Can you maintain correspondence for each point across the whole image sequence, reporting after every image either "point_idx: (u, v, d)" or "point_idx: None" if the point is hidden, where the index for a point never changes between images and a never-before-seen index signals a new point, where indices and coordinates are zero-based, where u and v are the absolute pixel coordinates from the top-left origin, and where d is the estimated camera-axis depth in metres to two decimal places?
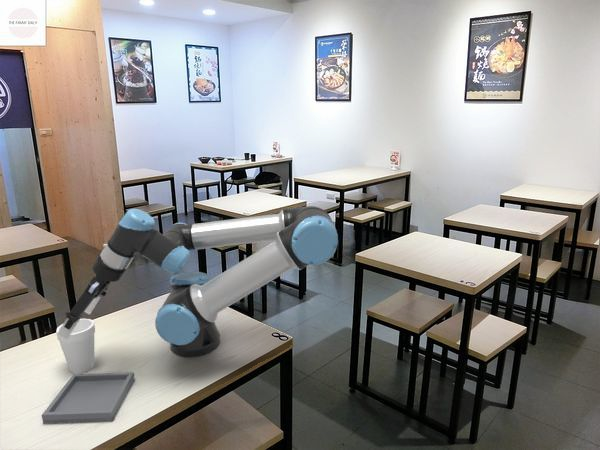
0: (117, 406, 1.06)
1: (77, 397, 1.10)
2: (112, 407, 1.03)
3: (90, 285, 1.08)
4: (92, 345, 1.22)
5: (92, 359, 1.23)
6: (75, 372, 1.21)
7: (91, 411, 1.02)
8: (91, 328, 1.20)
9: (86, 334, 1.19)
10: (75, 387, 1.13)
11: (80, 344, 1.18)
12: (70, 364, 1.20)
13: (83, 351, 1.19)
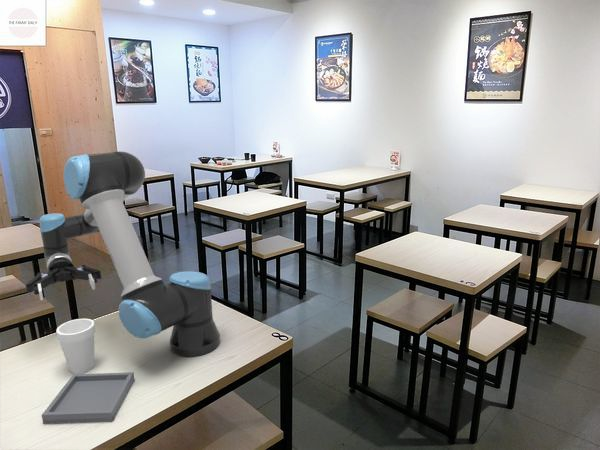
0: (117, 406, 1.06)
1: (77, 397, 1.10)
2: (112, 407, 1.03)
3: None
4: (92, 345, 1.22)
5: (92, 359, 1.23)
6: (75, 372, 1.21)
7: (91, 411, 1.02)
8: (91, 328, 1.20)
9: (86, 334, 1.19)
10: (75, 387, 1.13)
11: (80, 344, 1.18)
12: (70, 364, 1.20)
13: (83, 351, 1.19)
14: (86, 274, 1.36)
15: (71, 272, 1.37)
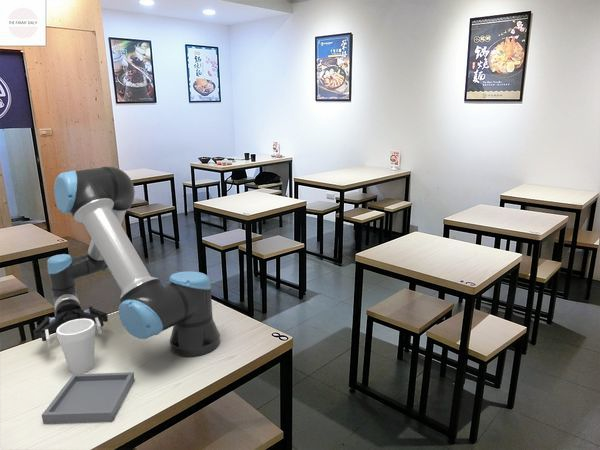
0: (117, 406, 1.06)
1: (77, 397, 1.10)
2: (112, 407, 1.03)
3: None
4: (92, 345, 1.22)
5: (92, 359, 1.23)
6: (75, 372, 1.21)
7: (91, 411, 1.02)
8: (91, 328, 1.20)
9: (86, 334, 1.19)
10: (75, 387, 1.13)
11: (80, 344, 1.18)
12: (70, 364, 1.20)
13: (83, 351, 1.19)
14: (93, 317, 1.37)
15: (78, 315, 1.39)
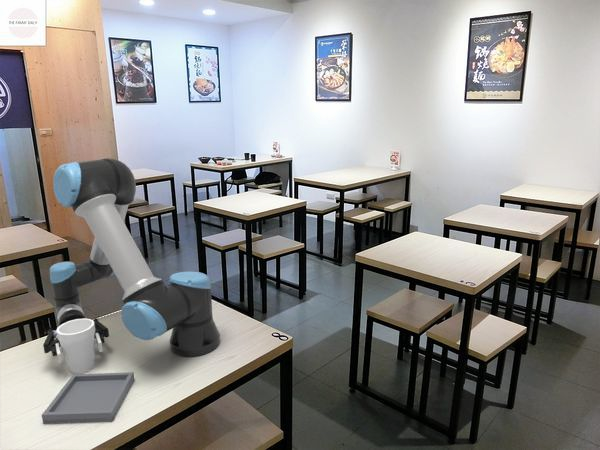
0: (117, 406, 1.06)
1: (77, 397, 1.10)
2: (112, 407, 1.03)
3: None
4: (92, 345, 1.22)
5: (92, 359, 1.23)
6: (75, 372, 1.21)
7: (91, 411, 1.02)
8: (91, 328, 1.20)
9: (86, 334, 1.19)
10: (75, 387, 1.13)
11: (80, 344, 1.18)
12: (70, 364, 1.20)
13: (83, 351, 1.19)
14: None
15: None
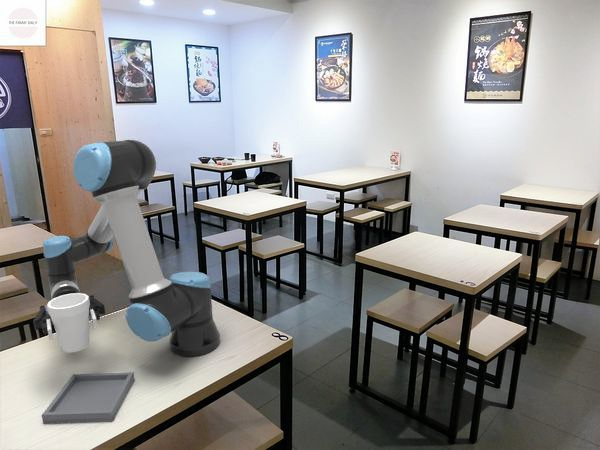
0: (117, 406, 1.06)
1: (77, 397, 1.10)
2: (112, 407, 1.03)
3: None
4: (86, 321, 1.12)
5: (86, 337, 1.13)
6: (68, 350, 1.11)
7: (91, 411, 1.02)
8: (85, 302, 1.11)
9: (79, 308, 1.09)
10: (75, 387, 1.13)
11: (73, 319, 1.09)
12: (62, 341, 1.10)
13: (76, 327, 1.10)
14: None
15: None
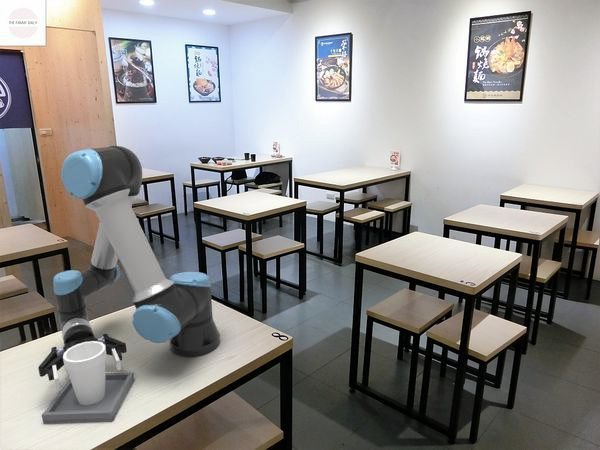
0: (117, 406, 1.06)
1: None
2: (112, 407, 1.03)
3: None
4: (103, 372, 1.08)
5: (103, 388, 1.09)
6: (84, 403, 1.07)
7: (91, 411, 1.02)
8: (102, 353, 1.06)
9: (97, 360, 1.04)
10: None
11: (90, 372, 1.04)
12: (78, 394, 1.06)
13: (93, 379, 1.05)
14: (109, 348, 1.14)
15: None
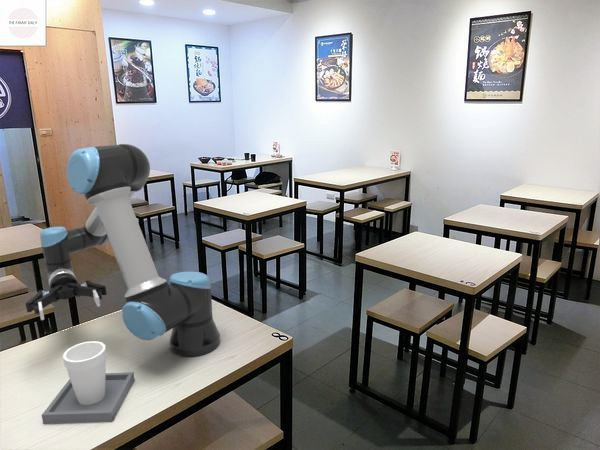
0: (117, 406, 1.06)
1: None
2: (112, 407, 1.03)
3: None
4: (103, 372, 1.08)
5: (103, 388, 1.09)
6: (84, 403, 1.07)
7: (91, 411, 1.02)
8: (102, 353, 1.06)
9: (97, 360, 1.04)
10: None
11: (90, 372, 1.04)
12: (78, 394, 1.06)
13: (93, 379, 1.05)
14: (90, 290, 1.26)
15: (74, 289, 1.28)
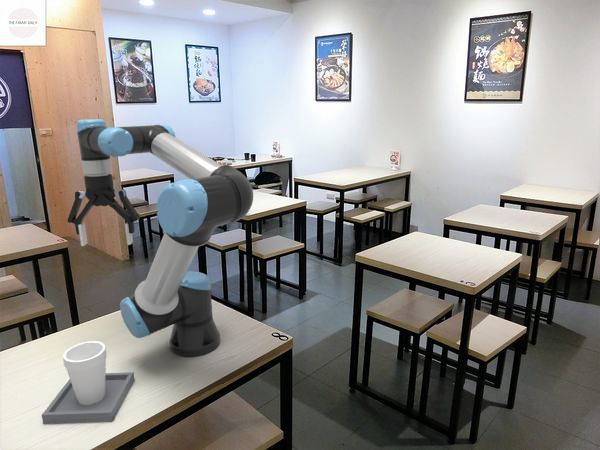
0: (117, 406, 1.06)
1: None
2: (112, 407, 1.03)
3: (78, 191, 1.27)
4: (103, 372, 1.08)
5: (103, 388, 1.09)
6: (84, 403, 1.07)
7: (91, 411, 1.02)
8: (102, 353, 1.06)
9: (97, 360, 1.04)
10: None
11: (90, 372, 1.04)
12: (78, 394, 1.06)
13: (93, 379, 1.05)
14: None
15: None
